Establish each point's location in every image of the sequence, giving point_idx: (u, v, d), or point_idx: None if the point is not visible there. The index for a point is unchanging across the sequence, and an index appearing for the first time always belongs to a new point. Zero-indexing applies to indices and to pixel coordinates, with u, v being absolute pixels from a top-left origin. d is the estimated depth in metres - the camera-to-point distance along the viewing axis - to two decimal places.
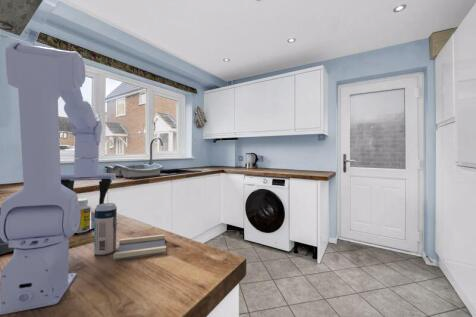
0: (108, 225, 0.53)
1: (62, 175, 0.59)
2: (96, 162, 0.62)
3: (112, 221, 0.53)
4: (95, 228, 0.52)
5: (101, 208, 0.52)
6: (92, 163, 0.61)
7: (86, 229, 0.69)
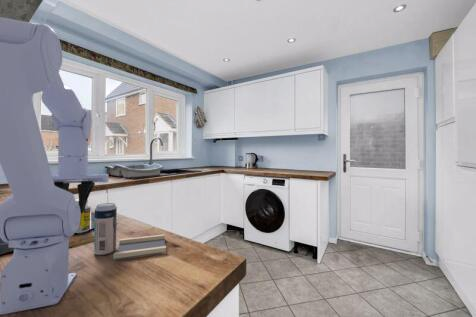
0: (108, 225, 0.53)
1: None
2: (85, 161, 0.52)
3: (112, 221, 0.53)
4: (95, 228, 0.52)
5: (101, 208, 0.52)
6: (80, 162, 0.51)
7: (86, 229, 0.69)
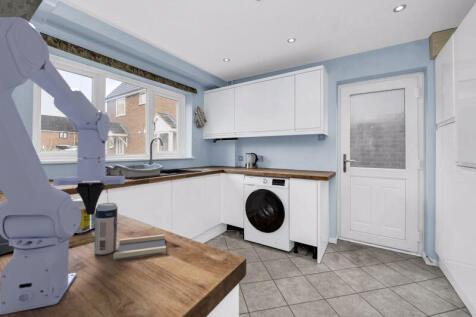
0: (108, 225, 0.53)
1: (63, 179, 0.50)
2: (103, 163, 0.53)
3: (113, 221, 0.54)
4: (96, 228, 0.52)
5: (102, 207, 0.52)
6: (98, 164, 0.52)
7: (86, 229, 0.69)
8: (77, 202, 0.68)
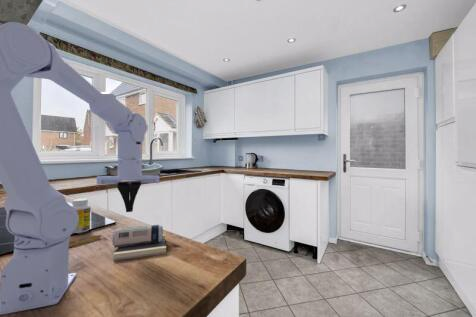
0: (143, 237, 0.56)
1: (105, 178, 0.53)
2: (140, 163, 0.56)
3: (146, 240, 0.57)
4: (141, 227, 0.58)
5: (161, 230, 0.59)
6: (137, 164, 0.55)
7: (86, 229, 0.69)
8: (77, 202, 0.68)
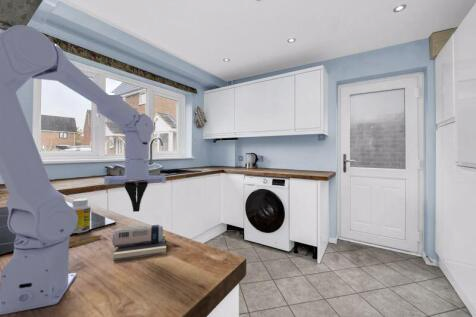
0: (143, 237, 0.56)
1: (113, 178, 0.54)
2: (147, 163, 0.57)
3: (146, 240, 0.57)
4: (141, 227, 0.58)
5: (161, 230, 0.59)
6: (144, 164, 0.56)
7: (86, 229, 0.69)
8: (77, 202, 0.68)
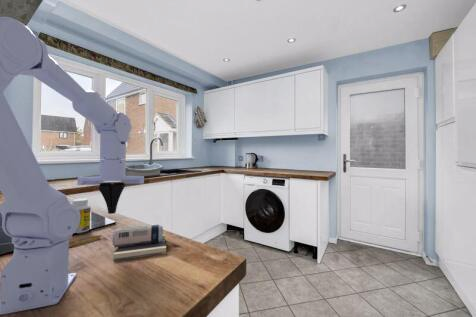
0: (143, 237, 0.56)
1: (86, 178, 0.52)
2: (124, 164, 0.55)
3: (146, 240, 0.57)
4: (141, 227, 0.58)
5: (161, 230, 0.59)
6: (120, 165, 0.54)
7: (86, 229, 0.69)
8: (77, 202, 0.68)
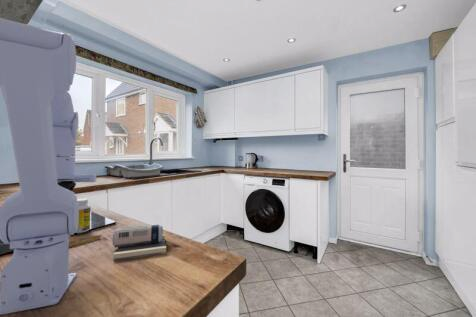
0: (143, 237, 0.56)
1: None
2: (72, 161, 0.52)
3: (146, 240, 0.57)
4: (141, 227, 0.58)
5: (161, 230, 0.59)
6: (66, 162, 0.51)
7: (86, 229, 0.69)
8: (77, 202, 0.68)
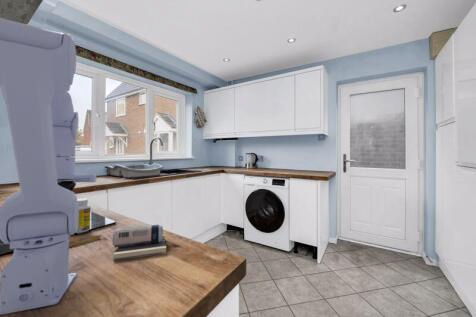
0: (143, 237, 0.56)
1: None
2: (72, 161, 0.52)
3: (146, 240, 0.57)
4: (141, 227, 0.58)
5: (161, 230, 0.59)
6: (66, 162, 0.51)
7: (86, 229, 0.69)
8: (77, 202, 0.68)
